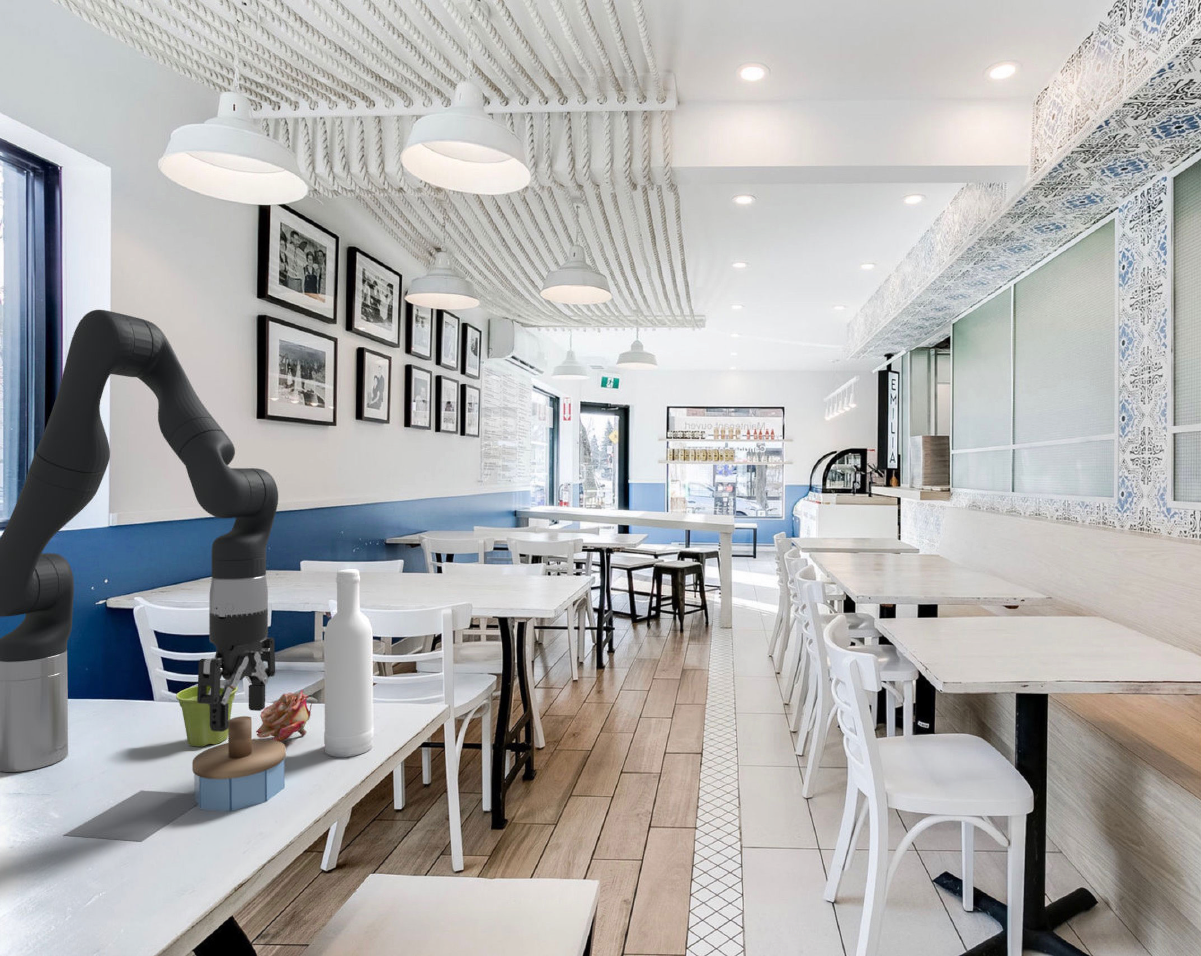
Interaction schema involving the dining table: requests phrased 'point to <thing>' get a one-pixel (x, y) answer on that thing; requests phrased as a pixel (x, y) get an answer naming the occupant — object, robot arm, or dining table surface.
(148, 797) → the mat
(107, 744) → the dining table surface
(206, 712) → the plant pot
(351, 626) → the bottle
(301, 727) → the flower
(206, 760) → the lid
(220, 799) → the bowl
